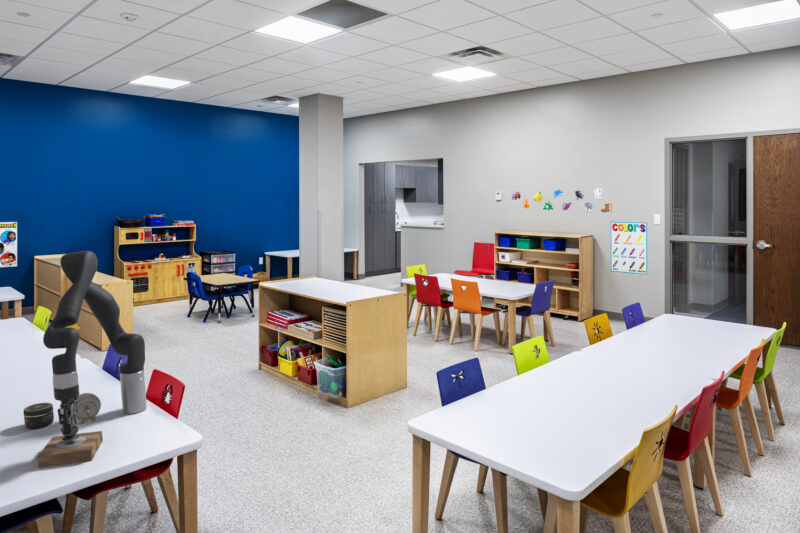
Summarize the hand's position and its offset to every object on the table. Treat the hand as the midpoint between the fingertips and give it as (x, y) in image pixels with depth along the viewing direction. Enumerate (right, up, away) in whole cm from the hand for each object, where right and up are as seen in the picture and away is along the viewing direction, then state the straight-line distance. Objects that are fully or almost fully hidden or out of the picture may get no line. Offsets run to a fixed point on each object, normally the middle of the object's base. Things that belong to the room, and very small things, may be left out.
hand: (70, 430), depth 192 cm
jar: (-28, -6, +27) cm, 40 cm away
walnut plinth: (0, -9, +1) cm, 9 cm away
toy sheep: (-12, -5, +31) cm, 33 cm away
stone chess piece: (0, -3, 0) cm, 3 cm away
